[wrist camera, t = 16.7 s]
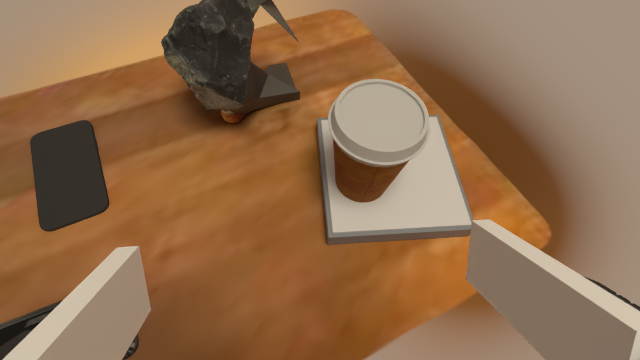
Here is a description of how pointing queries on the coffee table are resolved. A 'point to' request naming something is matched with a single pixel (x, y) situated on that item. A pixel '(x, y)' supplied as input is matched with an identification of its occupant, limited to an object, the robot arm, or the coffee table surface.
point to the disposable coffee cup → (375, 136)
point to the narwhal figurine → (226, 57)
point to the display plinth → (398, 197)
